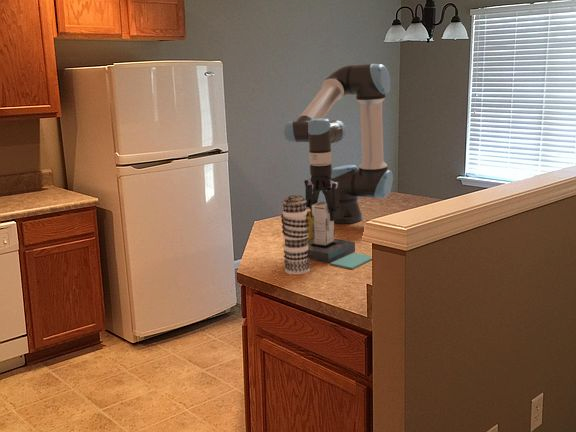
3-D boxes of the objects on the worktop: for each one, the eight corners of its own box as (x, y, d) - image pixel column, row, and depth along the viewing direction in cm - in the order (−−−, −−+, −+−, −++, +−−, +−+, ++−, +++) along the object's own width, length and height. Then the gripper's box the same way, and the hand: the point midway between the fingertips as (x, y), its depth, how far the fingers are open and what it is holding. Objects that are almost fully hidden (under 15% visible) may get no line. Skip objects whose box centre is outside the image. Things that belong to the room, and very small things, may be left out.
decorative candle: (293, 264, 217) (290, 192, 211) (316, 268, 212) (313, 194, 206) (278, 272, 210) (274, 198, 204) (301, 276, 204) (298, 200, 198)
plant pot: (321, 242, 241) (320, 217, 239) (295, 241, 244) (294, 216, 242) (329, 235, 250) (328, 211, 248) (304, 233, 254) (303, 210, 252)
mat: (353, 254, 225) (353, 252, 224) (375, 258, 219) (375, 256, 219) (330, 264, 214) (330, 263, 214) (352, 269, 209) (352, 267, 208)
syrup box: (321, 239, 230) (319, 200, 227) (335, 241, 227) (333, 202, 223) (312, 243, 226) (310, 204, 222) (326, 246, 222) (324, 205, 219)
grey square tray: (319, 244, 238) (319, 235, 237) (355, 251, 228) (354, 242, 227) (292, 255, 226) (292, 246, 225) (328, 263, 216) (328, 253, 215)
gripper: (292, 163, 222) (295, 227, 228) (336, 167, 210) (338, 234, 216) (306, 160, 228) (308, 222, 234) (349, 164, 216) (351, 229, 222)
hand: (323, 228), depth 225 cm, fingers closed on syrup box, 6 cm apart
